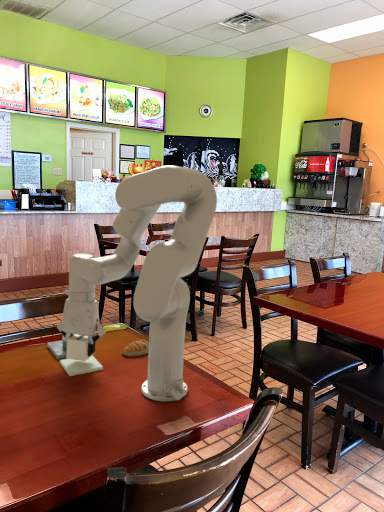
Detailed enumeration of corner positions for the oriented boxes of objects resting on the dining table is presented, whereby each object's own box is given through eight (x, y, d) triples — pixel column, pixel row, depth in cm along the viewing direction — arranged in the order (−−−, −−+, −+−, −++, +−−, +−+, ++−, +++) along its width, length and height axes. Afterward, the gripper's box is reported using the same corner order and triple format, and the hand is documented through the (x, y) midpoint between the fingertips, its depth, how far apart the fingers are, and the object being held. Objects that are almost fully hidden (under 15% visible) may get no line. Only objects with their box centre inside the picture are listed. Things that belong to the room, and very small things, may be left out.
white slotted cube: (85, 361, 120) (85, 341, 119) (66, 358, 121) (66, 338, 120) (94, 353, 126) (94, 334, 125) (76, 351, 127) (76, 331, 126)
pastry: (129, 359, 131) (129, 348, 131) (117, 353, 136) (117, 342, 135) (152, 352, 138) (152, 342, 137) (139, 347, 142) (139, 336, 142)
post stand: (88, 354, 133) (88, 332, 132) (57, 359, 128) (57, 336, 127) (76, 342, 143) (77, 321, 142) (47, 346, 138) (47, 325, 137)
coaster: (102, 369, 123) (102, 366, 122) (69, 376, 117) (69, 372, 117) (91, 357, 131) (91, 354, 131) (59, 363, 125) (59, 360, 125)
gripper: (48, 295, 119) (48, 353, 121) (103, 302, 115) (102, 362, 118) (61, 289, 126) (61, 345, 129) (114, 295, 123) (112, 352, 125)
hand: (80, 352), depth 123 cm, fingers closed on white slotted cube, 5 cm apart
